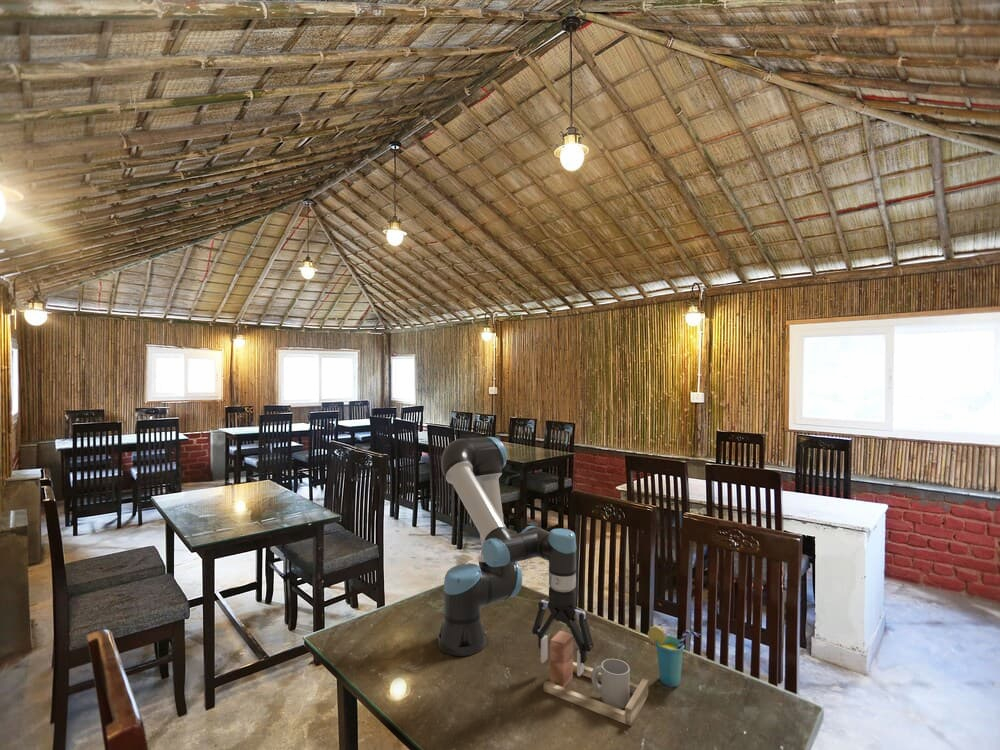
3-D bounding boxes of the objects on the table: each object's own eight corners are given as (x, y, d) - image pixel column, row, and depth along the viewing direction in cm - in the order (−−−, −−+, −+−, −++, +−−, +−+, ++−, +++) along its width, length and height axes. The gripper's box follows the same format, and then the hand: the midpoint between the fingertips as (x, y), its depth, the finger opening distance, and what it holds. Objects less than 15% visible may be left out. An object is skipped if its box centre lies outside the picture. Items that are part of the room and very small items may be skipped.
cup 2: (699, 679, 137) (699, 625, 137) (701, 695, 130) (701, 639, 130) (647, 668, 142) (647, 617, 142) (646, 684, 135) (646, 629, 135)
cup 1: (626, 713, 123) (626, 677, 123) (587, 701, 127) (587, 667, 127) (632, 696, 129) (632, 663, 129) (595, 686, 134) (595, 653, 134)
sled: (543, 691, 131) (543, 646, 131) (566, 666, 143) (566, 624, 143) (631, 726, 118) (631, 676, 118) (648, 695, 130) (648, 649, 130)
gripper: (520, 582, 139) (519, 660, 139) (595, 602, 127) (595, 688, 127) (532, 573, 146) (532, 648, 145) (606, 592, 133) (606, 673, 133)
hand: (561, 666), depth 136 cm, fingers open, 10 cm apart
